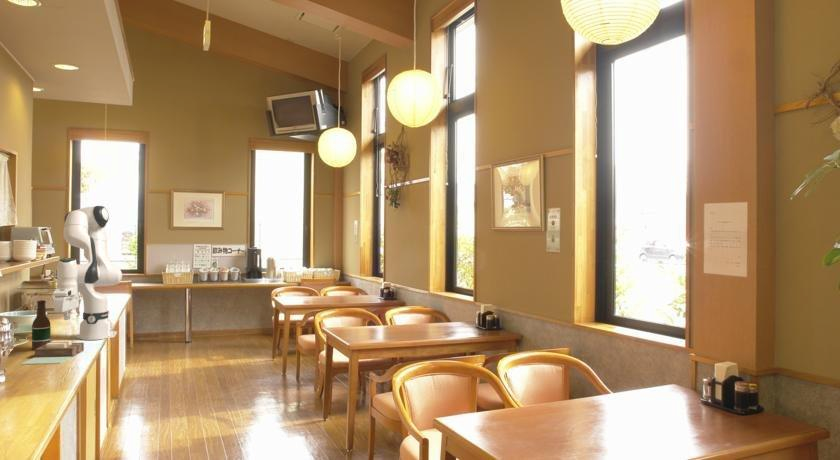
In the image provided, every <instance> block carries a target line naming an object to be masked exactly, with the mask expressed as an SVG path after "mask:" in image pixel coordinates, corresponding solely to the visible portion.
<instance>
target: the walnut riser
mask: <svg viewBox="0 0 840 460" xmlns="http://www.w3.org/2000/svg"><path fill="white" fill-rule="evenodd" d="M84 346H85V343H84V342H72V345H70V346H68V347H66V348H46V345H44V346H41V347H39V348H37V349H35V350H34V358H38V357H71V358H73V357H75V356H77V355H79V354H80V353H83V352H84V349H85V347H84Z"/></svg>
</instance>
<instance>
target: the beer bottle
mask: <svg viewBox="0 0 840 460" xmlns="http://www.w3.org/2000/svg"><path fill="white" fill-rule="evenodd" d="M46 302H47V301H46V300H43V299H42V300H37V301H36V304H37V306H36V309H37V310H36V317H35V318H34V320H33V322H32V325H31V348H32V350H33V351H35V349H37V348H39V347H41V346H44V345H46V344H48V343H50V342H51V336H52V335H51V321H50V319H49V318H48V317H47V312H46V311H47V310H46Z"/></svg>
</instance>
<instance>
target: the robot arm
mask: <svg viewBox="0 0 840 460" xmlns="http://www.w3.org/2000/svg"><path fill="white" fill-rule="evenodd" d="M109 219H110V214H109V210H108V209H107V208H106V207H105V206H103V205H96V206H87V207H83V208H79V209H75V210H71V211H68V212H66V214H65V216H64V219H63V220H64V225H63V240H65V242H66V243H67V244H68V245H70V246H72V247H75V248H78V249H82V250H83V256H84V258H85V259H86V260H87V261H88V262H87V263H81V264H77V259H76V258H73V257H66V258H61V259H58V261H57V267H56V271H55V279H56V280H57V283H56V288H55V290H54V291H53V292H52V297H53V310H54V312H55V313H57V314H58V313H62V315H63V320H64V321H68V320H71V316H72V311H73V310H75V309H78V308H79V307H80V297H79V294H78V292H79V293H80V295H81V297H82V301H83V312H82V321H81V322H80V323H79V332H78V333H79V335H77V336H76V339H80V340H84V341H93V340H94V341H97V340H104V339H111V338H115V337H116V336H117V334H118V331H117V330H113V325H114V324H113V322H112V321H111V320H110V319H109V314H110V310H108V299H107V296H106V295H105V294H103V293H101V292H98V291H96V290H95V288H96V287H110V286H115V285H119V284H120V283H121V281H122V278H123V272H122V270H121V268H119V267H118V266H117V265H115V264H113V263H112V261H111V259H109V257H108V249H107V248H108V246H107V243H108V242H107V234H106V230H105V227H106V225H107V224H108V221H109Z"/></svg>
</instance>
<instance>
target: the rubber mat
mask: <svg viewBox="0 0 840 460" xmlns="http://www.w3.org/2000/svg"><path fill="white" fill-rule="evenodd" d="M71 358H72V357H38V358H35V357H32V358H30V359H28V360H26V361H23V362H22V363H21V366H22V365H53V364H54V365H55V364H56V365H57V364H58V365H59V364H62V363H64V362H66V361H68V360H69V359H71Z"/></svg>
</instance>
